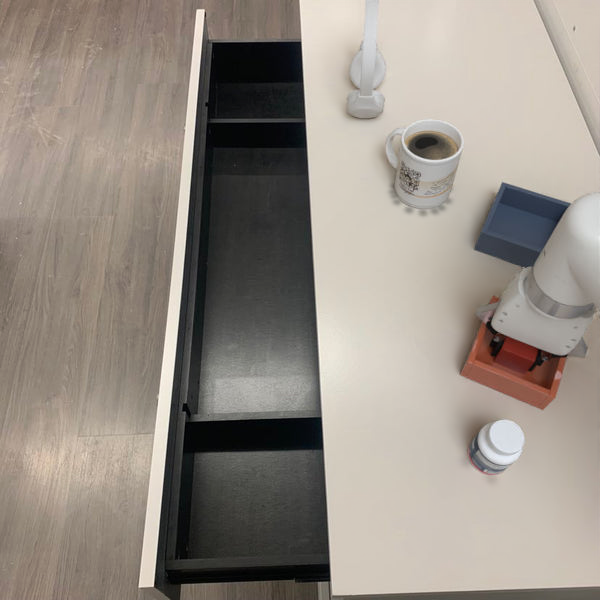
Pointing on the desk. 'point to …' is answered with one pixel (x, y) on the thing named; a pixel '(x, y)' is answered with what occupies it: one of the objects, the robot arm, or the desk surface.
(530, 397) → the terracotta bin
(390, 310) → the desk surface
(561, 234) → the robot arm
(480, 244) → the slate bin
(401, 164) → the mug
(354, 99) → the headphones
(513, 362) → the red block
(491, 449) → the pill bottle
